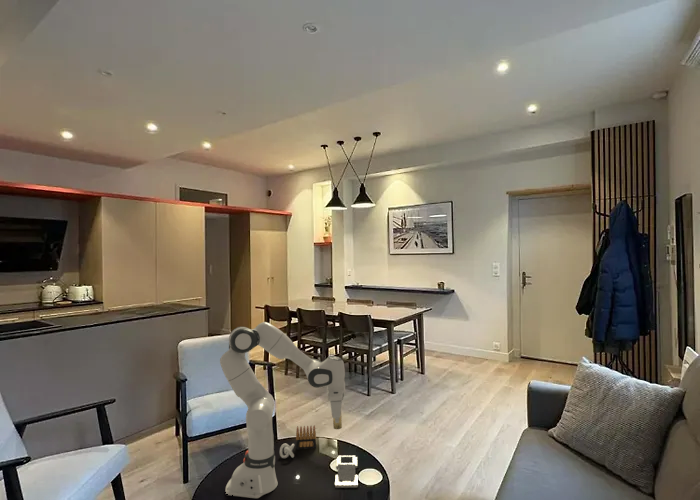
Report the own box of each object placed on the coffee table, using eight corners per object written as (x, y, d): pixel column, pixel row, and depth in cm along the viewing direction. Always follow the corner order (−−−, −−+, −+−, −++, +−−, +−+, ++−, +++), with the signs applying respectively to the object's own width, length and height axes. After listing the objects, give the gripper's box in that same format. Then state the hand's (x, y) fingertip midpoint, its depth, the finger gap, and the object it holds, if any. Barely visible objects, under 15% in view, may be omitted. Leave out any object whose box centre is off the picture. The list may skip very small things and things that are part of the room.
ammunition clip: (316, 446, 213) (315, 424, 213) (316, 448, 211) (316, 425, 211) (296, 448, 211) (295, 425, 212) (295, 449, 210) (295, 427, 210)
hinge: (335, 487, 175) (334, 474, 175) (337, 459, 199) (337, 447, 199) (357, 487, 175) (357, 473, 175) (357, 459, 199) (356, 447, 199)
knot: (286, 451, 208) (286, 439, 208) (299, 454, 205) (299, 443, 205) (277, 457, 202) (277, 446, 202) (290, 461, 198) (290, 449, 198)
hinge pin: (333, 429, 187) (332, 410, 187) (333, 425, 191) (332, 407, 191) (341, 429, 187) (341, 410, 187) (341, 425, 191) (341, 406, 191)
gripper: (330, 383, 200) (331, 411, 200) (328, 398, 179) (329, 429, 179) (343, 383, 200) (344, 410, 200) (342, 398, 179) (343, 428, 179)
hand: (337, 419), depth 189 cm, fingers closed on hinge pin, 4 cm apart
